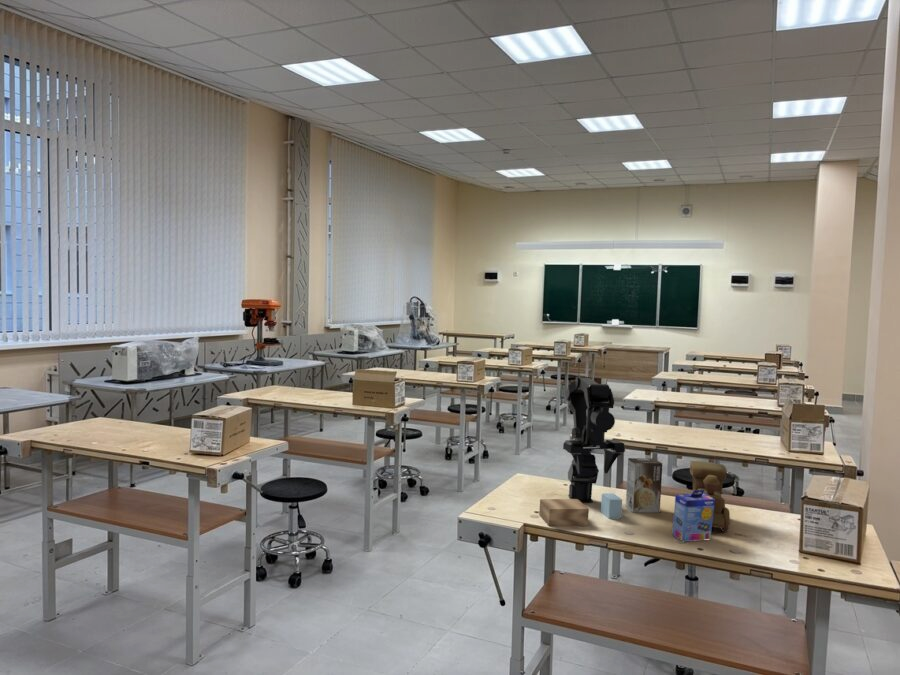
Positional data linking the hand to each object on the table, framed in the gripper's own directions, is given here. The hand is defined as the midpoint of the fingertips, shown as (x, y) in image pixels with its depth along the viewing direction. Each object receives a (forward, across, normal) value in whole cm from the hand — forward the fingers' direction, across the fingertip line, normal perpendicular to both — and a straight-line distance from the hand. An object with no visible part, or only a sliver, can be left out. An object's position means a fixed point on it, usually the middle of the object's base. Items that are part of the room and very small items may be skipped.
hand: (592, 473), depth 194 cm
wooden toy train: (+13, -33, +13) cm, 37 cm away
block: (+13, -6, +3) cm, 14 cm away
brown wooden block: (+12, +12, +5) cm, 18 cm away
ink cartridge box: (+13, -19, +24) cm, 33 cm away
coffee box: (+13, -19, -1) cm, 23 cm away
